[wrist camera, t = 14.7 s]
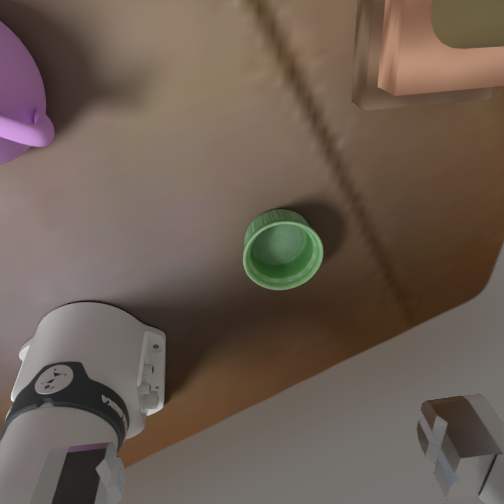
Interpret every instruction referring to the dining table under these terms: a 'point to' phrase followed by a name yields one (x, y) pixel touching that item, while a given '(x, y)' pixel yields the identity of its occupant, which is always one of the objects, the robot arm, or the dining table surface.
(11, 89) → the teapot
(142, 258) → the dining table surface
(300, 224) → the ramekin
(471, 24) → the cork
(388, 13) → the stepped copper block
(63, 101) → the dining table surface
